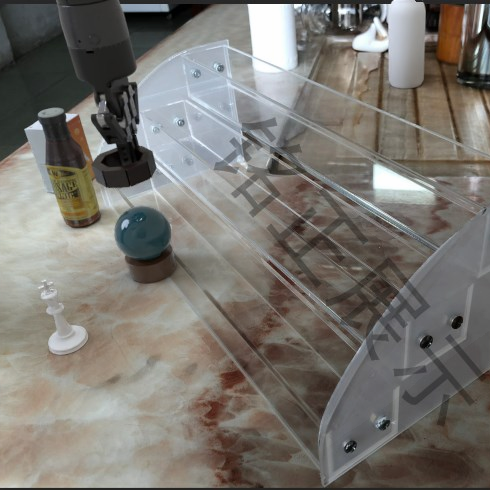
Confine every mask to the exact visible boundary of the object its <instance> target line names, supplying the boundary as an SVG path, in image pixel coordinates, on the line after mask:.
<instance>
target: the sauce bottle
mask: <svg viewBox="0 0 490 490" xmlns="http://www.w3.org/2000/svg"><path fill="white" fill-rule="evenodd" d="M65 113H66V111H65V109H64V108H61V107H49V108H46V109H43V110H40V111H39V112H38V113H37V119H38V120H39V123H40V124H41V125H42V128H43V131H44V134H45V139H46V158H45V165H46V168H47V172H48V174H49V177H50V181H51V184H52V187H53V190H54V193H53V194H54V195H55V196H54V197H55V199H56V202H57V205H58V209H59V211H60V214H61V216H62V218H63V221H64V223H65V224H66V225H67V226H69V227H73V228H77V227H79V228H80V227H87V226H89V225H92V224H93V223H94V222H96V221H97V220H98V219H99V218H100V215H101V210H100V206H99V205H100V204H99V201H98V197H97V194H96V190H95V187H94V184H93V181H92V180H93V179H92V180H91V176H90V173H89V169H88V166H87V162H86V160H85V157H84V154H83V150H82V148H81V146H80V145H79V144H78V143H77V142H76V141H75V140H74V139H73V138H72V137H71V135H70V134H71V133H70V132H69V128H68V125H67V122H66V114H65Z"/></svg>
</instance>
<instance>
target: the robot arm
mask: <svg viewBox="0 0 490 490" xmlns="http://www.w3.org/2000/svg"><path fill="white" fill-rule="evenodd" d="M55 1H56V6H57V10H58V16H59V22H60V25H61V26H60V27H61V29H62V32H63V35H64V39H65V42H66V44H67V45H66V46H67V49H68V52H69V55H70V58H71V62H72V65H73V69H74V72H75V75H76V78H77V79H78V80H79V81H80V82H83V83H87V84H89V85H91V86H92V91H93V100H94V103H95V106H96V108H97V113H91V115H90V122H91V123H92V125H93V126H94V128H95V129H96V131H98V133H99V134H100V136H101V137H102V138H103V140H104V142H105V143H106V144H107V145H115V148H117V150H118V154H119V157H120V161H121V164H122V166H127V165H129V164H132V163H134V162H137V161H138V158H137V154H136V150H135V146H140V144H139V139H138V136H137V134H138V127H137V126H138V125H140V123H141V122H140V121H141V120H140V108H139V91H138V84H137V81H129V77H130V76H132V75H134V73H136V71H137V68H138V65H137V61H136V57H135V54H134V50H133V45H132V39H131V37H130V32H129V29H128V23H127V20H126V16H125V12H124V10H123V7H122V5H121V3H120V0H55Z"/></svg>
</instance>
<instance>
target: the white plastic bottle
mask: <svg viewBox="0 0 490 490" xmlns="http://www.w3.org/2000/svg"><path fill="white" fill-rule="evenodd" d="M426 14H427V13H426V6H425V3H424V2H416V1H415V0H392V1H391V3H390V5H389V7H388V13H387V22H388V23H387V24H388V25H387V27H388V28H387V29H388V30H387V33H388V35H387V36H388V37H387V39H388V43H387V44H388V45H387V48H388V50H387V51H388V57H387V58H388V83H389V84H390V86H392V87H393V88H396V89H401V90H403V89H404V90H405V89H406V90H407V89H414V88H418V87H420V86H421V85H422V83H423V82H424V79H425V50H426V16H427V15H426Z"/></svg>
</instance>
